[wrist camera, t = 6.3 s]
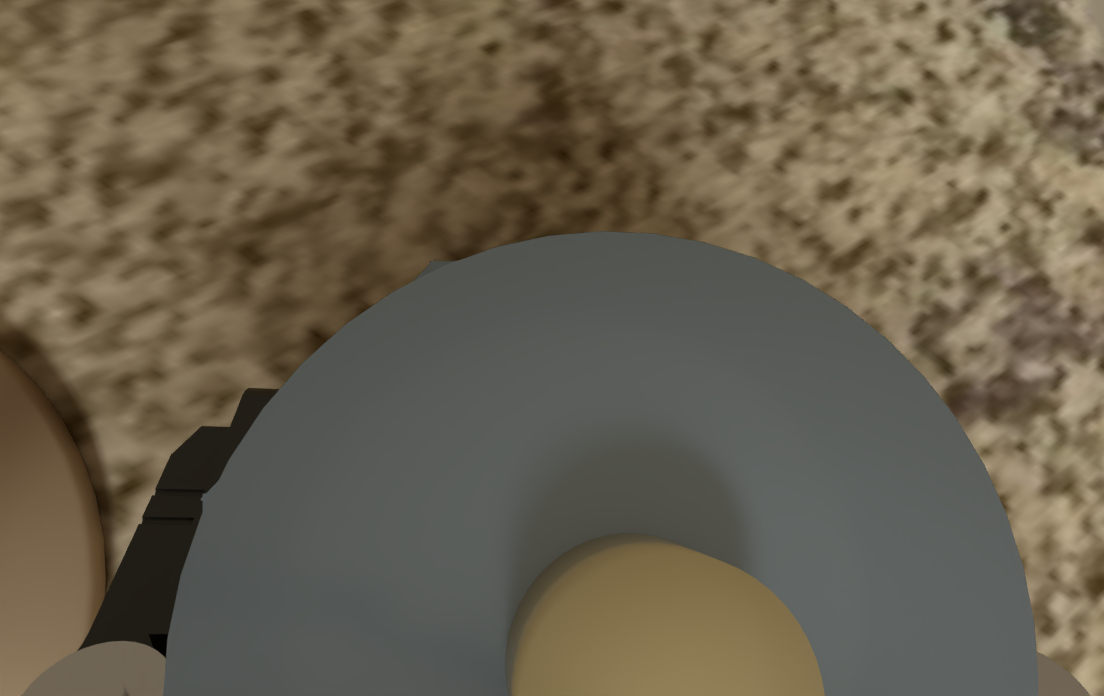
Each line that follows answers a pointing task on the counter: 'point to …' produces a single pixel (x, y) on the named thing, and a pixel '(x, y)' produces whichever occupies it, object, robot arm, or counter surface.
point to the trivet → (43, 536)
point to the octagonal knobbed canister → (604, 498)
